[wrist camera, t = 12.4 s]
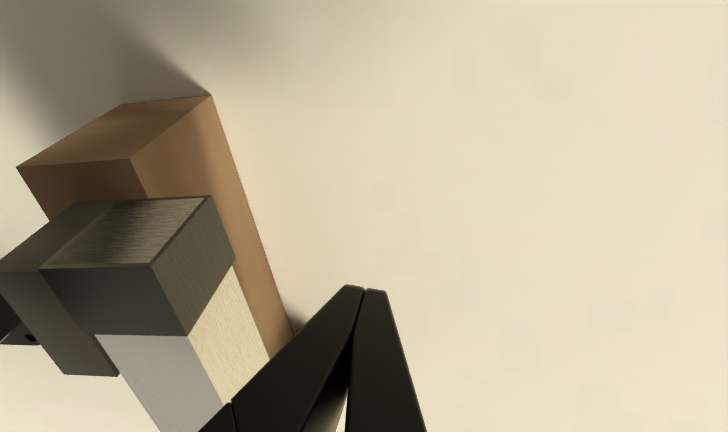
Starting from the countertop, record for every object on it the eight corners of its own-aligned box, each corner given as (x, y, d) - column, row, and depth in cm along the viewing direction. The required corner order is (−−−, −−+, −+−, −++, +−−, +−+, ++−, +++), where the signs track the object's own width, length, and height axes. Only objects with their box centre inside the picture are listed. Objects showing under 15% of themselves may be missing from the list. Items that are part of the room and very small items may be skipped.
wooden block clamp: (293, 484, 25) (250, 637, 20) (121, 104, 14) (-92, 231, 8) (385, 493, 24) (365, 657, 19) (283, 87, 12) (157, 221, 7)
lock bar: (334, 494, 15) (313, 594, 13) (262, 487, 16) (230, 581, 14) (220, 194, 9) (144, 288, 7) (108, 200, 10) (4, 289, 7)
